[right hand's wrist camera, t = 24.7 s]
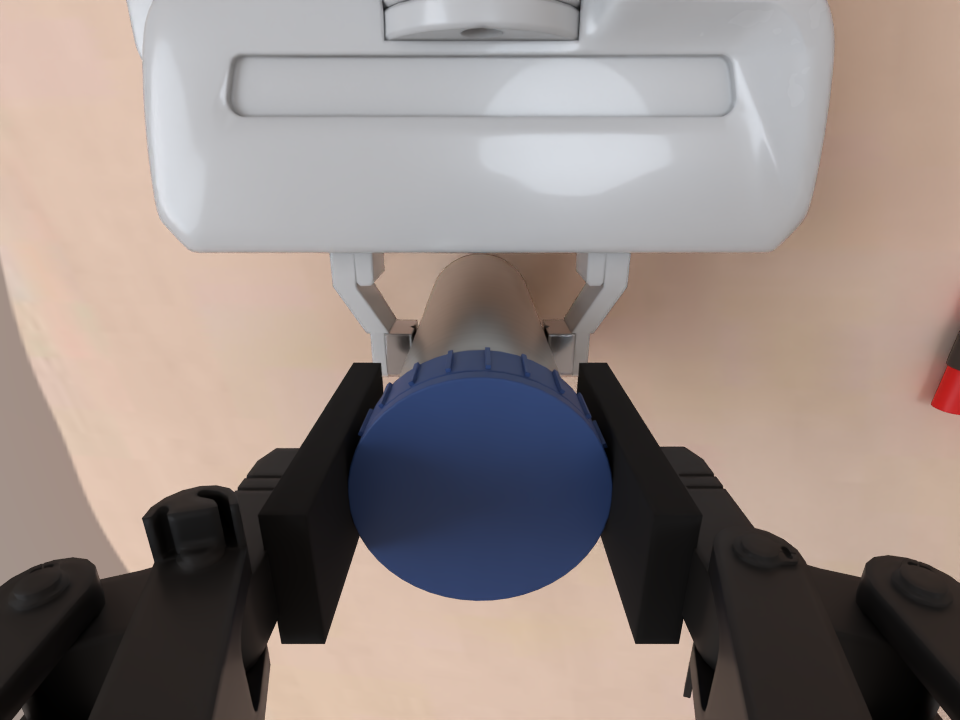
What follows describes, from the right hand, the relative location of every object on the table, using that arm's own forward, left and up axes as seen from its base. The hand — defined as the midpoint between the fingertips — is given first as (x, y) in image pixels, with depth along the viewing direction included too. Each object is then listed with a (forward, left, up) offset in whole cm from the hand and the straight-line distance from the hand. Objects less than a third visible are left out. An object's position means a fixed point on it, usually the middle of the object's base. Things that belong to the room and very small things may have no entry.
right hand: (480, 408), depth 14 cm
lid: (0, 0, +4) cm, 4 cm away
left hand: (-1, 0, -5) cm, 5 cm away
